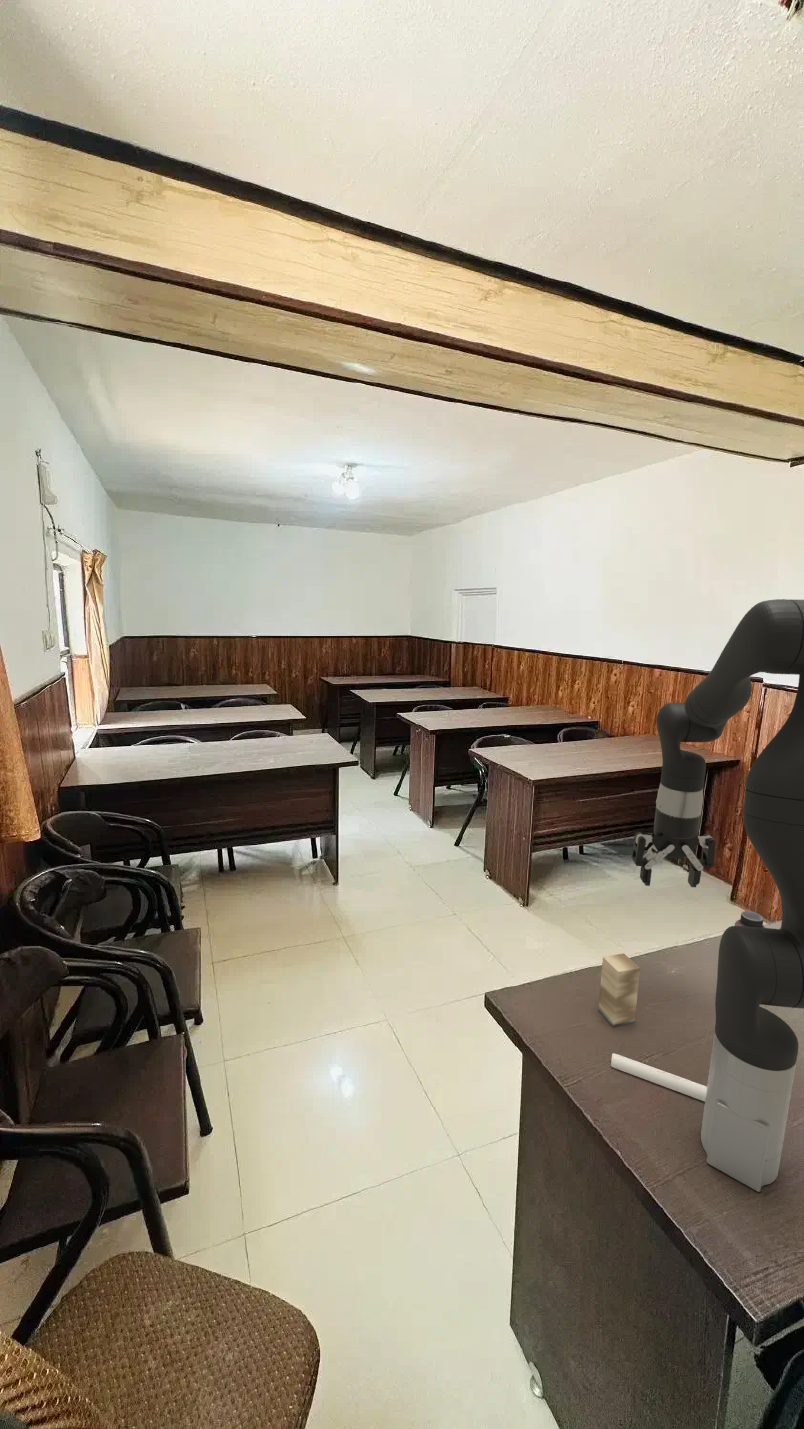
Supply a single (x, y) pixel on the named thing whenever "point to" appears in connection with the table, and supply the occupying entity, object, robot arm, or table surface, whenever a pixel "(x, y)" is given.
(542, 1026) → the table surface
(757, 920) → the supplement bottle
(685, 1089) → the marker
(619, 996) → the beech block
